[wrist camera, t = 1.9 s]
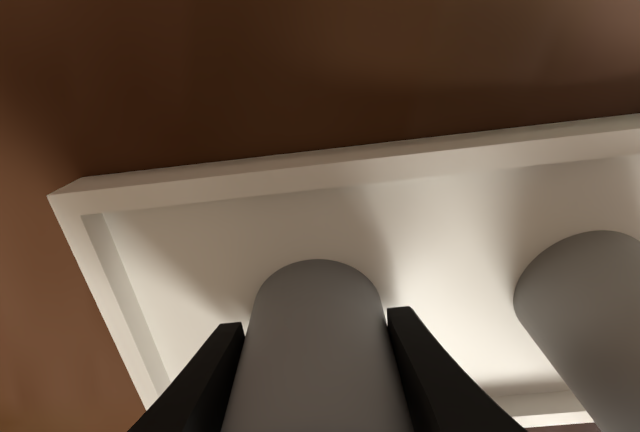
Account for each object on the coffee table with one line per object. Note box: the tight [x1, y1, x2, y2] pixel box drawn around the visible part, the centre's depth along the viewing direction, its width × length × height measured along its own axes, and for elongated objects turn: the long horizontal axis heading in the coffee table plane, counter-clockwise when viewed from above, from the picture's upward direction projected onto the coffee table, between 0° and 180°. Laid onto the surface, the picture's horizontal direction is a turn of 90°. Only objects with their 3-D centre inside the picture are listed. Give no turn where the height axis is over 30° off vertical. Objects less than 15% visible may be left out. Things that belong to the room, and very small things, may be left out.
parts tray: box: [46, 113, 640, 428], centre depth 11 cm, size 20×10×1 cm, turn 97°
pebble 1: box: [221, 259, 414, 432], centre depth 9 cm, size 4×4×5 cm
